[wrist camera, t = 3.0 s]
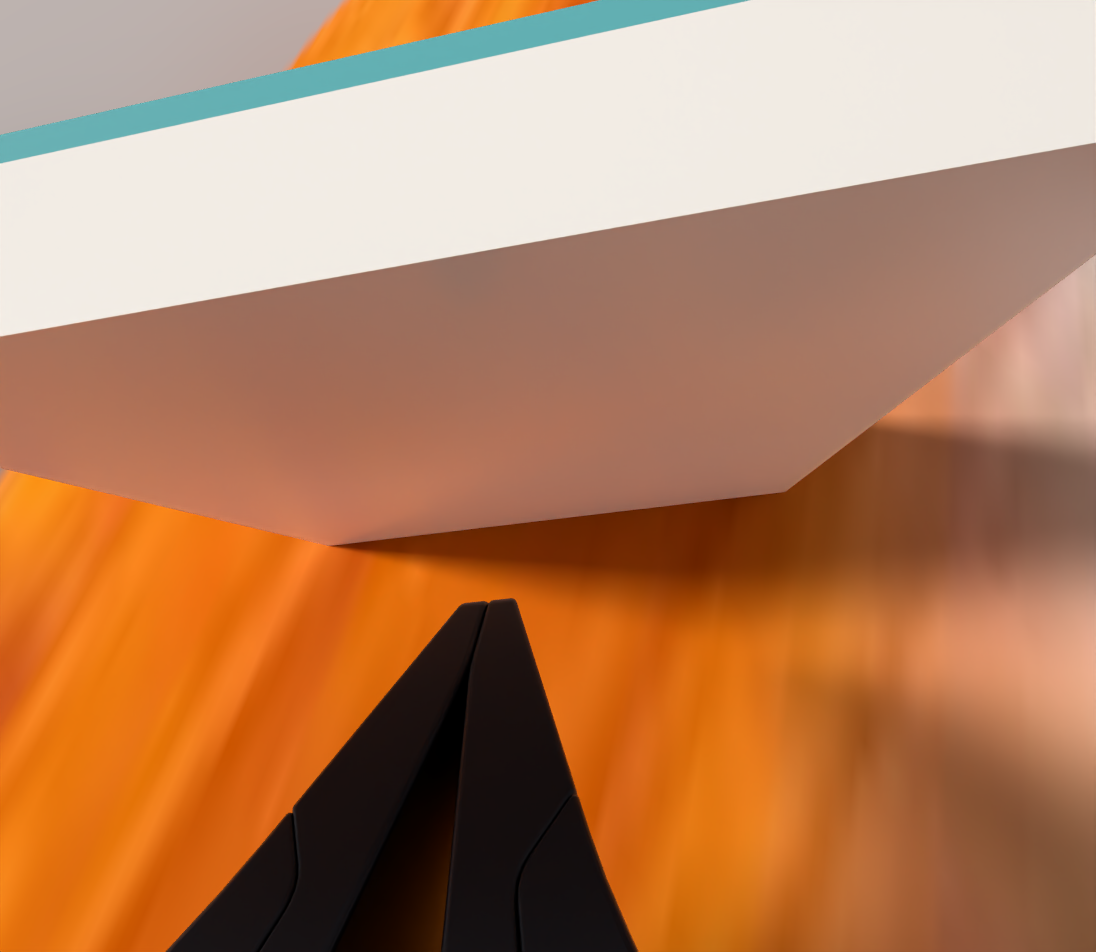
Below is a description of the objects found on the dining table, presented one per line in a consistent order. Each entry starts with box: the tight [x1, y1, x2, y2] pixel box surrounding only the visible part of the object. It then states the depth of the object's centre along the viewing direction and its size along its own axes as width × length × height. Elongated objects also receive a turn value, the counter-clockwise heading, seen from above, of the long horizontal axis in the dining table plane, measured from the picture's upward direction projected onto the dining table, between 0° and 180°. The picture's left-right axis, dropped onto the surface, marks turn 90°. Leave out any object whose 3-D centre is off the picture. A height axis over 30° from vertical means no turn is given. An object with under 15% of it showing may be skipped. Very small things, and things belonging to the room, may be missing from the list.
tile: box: [0, 0, 1096, 546], centre depth 11 cm, size 2×14×12 cm, turn 95°
